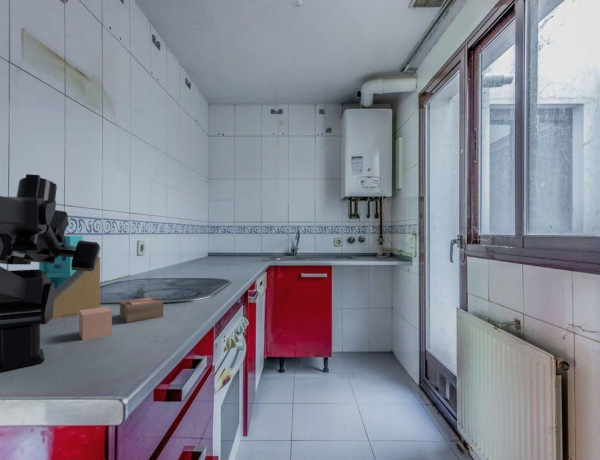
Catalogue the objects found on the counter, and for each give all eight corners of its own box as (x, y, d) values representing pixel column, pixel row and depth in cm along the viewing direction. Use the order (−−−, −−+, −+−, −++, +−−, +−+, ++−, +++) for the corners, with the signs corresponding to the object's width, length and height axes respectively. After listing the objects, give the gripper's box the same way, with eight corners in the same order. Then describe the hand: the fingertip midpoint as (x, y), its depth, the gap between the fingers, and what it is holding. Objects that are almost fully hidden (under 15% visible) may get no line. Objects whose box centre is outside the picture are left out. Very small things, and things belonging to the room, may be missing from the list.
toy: (39, 305, 90) (39, 236, 90) (56, 301, 96) (56, 236, 96) (70, 306, 89) (70, 236, 89) (85, 301, 95) (85, 235, 95)
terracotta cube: (111, 335, 65) (111, 310, 65) (82, 340, 61) (82, 315, 61) (106, 329, 68) (106, 306, 68) (78, 334, 65) (78, 310, 65)
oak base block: (163, 318, 78) (163, 301, 78) (127, 324, 73) (127, 306, 73) (153, 312, 84) (153, 296, 84) (119, 317, 79) (119, 300, 79)
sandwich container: (23, 316, 80) (23, 257, 80) (95, 306, 90) (94, 254, 90) (23, 323, 73) (23, 259, 73) (100, 312, 83) (100, 256, 83)
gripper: (102, 210, 67) (108, 239, 80) (-10, 192, 60) (17, 227, 73) (88, 258, 62) (97, 281, 75) (-36, 245, 55) (-3, 273, 68)
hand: (54, 264), depth 73 cm, fingers open, 9 cm apart
